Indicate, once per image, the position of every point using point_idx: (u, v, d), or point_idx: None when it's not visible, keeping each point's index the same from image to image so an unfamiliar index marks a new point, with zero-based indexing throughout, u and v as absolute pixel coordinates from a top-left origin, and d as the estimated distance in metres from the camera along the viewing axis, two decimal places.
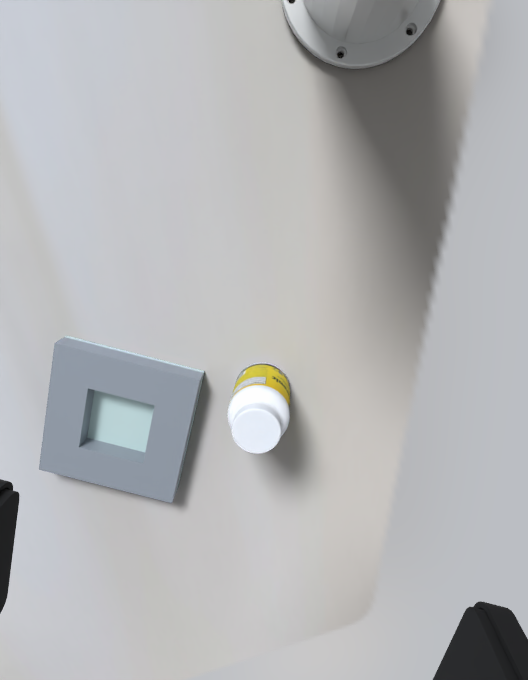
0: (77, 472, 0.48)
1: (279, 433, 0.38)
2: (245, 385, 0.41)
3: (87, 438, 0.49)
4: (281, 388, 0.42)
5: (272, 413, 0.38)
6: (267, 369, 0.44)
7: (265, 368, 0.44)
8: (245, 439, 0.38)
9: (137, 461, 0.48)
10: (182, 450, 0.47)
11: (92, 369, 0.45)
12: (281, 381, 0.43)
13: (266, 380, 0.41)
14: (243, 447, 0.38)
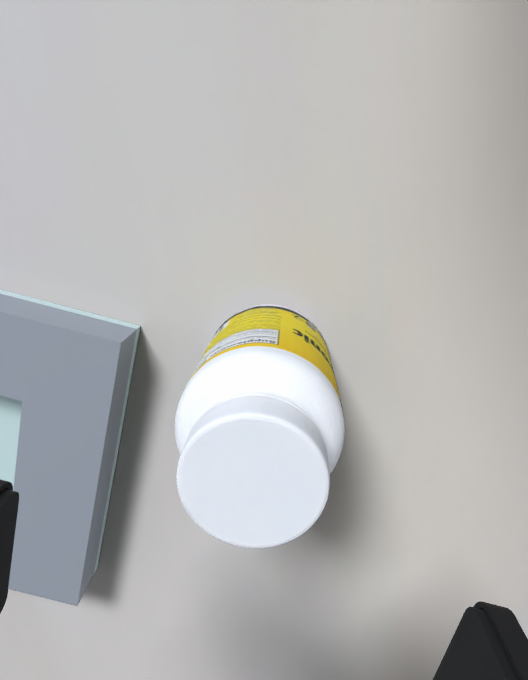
0: None
1: (324, 490, 0.12)
2: (223, 349, 0.15)
3: None
4: (319, 357, 0.16)
5: (303, 427, 0.12)
6: (281, 316, 0.18)
7: (276, 314, 0.19)
8: (219, 507, 0.12)
9: None
10: (91, 500, 0.21)
11: None
12: (315, 343, 0.17)
13: (279, 336, 0.16)
14: (213, 530, 0.13)
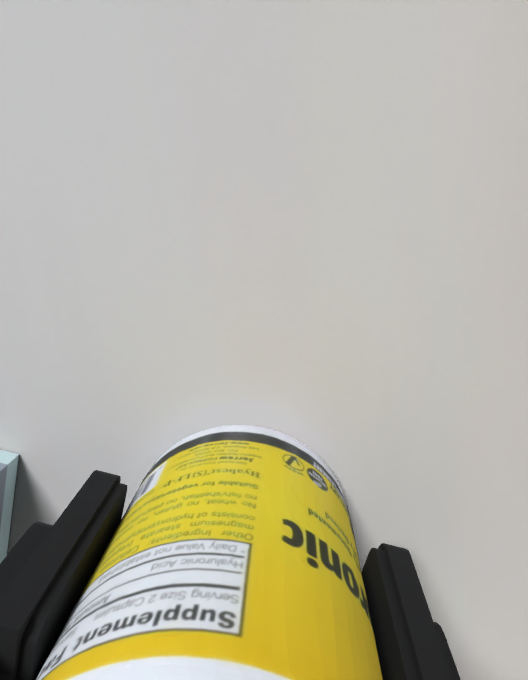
0: None
1: None
2: (105, 630, 0.06)
3: None
4: (343, 612, 0.07)
5: None
6: (260, 473, 0.09)
7: (251, 463, 0.10)
8: None
9: None
10: None
11: None
12: (330, 542, 0.08)
13: (247, 577, 0.07)
14: None
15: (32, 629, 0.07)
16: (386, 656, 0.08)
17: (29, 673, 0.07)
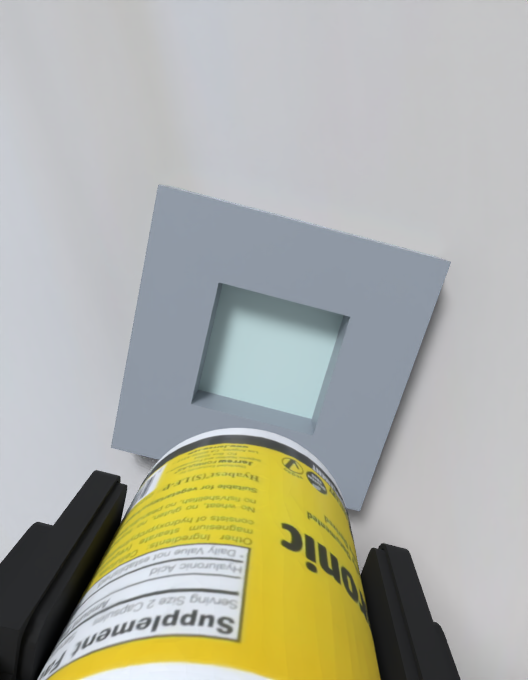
0: None
1: None
2: (104, 635, 0.06)
3: (199, 390, 0.27)
4: (342, 617, 0.07)
5: None
6: (259, 477, 0.09)
7: (250, 467, 0.10)
8: None
9: (301, 431, 0.25)
10: (394, 408, 0.24)
11: (231, 242, 0.22)
12: (329, 546, 0.08)
13: (246, 581, 0.07)
14: None
15: (32, 629, 0.07)
16: (386, 656, 0.08)
17: (29, 673, 0.07)
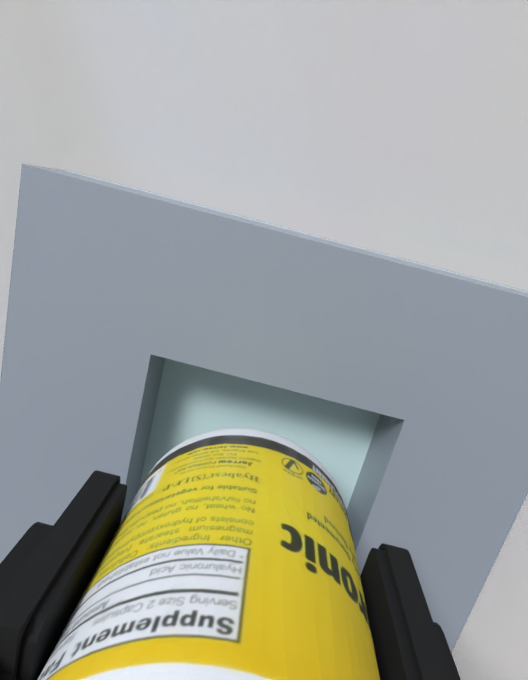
0: None
1: None
2: (104, 635, 0.06)
3: None
4: (341, 618, 0.07)
5: None
6: (259, 477, 0.09)
7: (250, 467, 0.10)
8: None
9: None
10: (480, 580, 0.13)
11: (173, 278, 0.11)
12: (329, 547, 0.08)
13: (246, 582, 0.07)
14: None
15: (32, 629, 0.07)
16: (386, 656, 0.08)
17: (29, 673, 0.07)
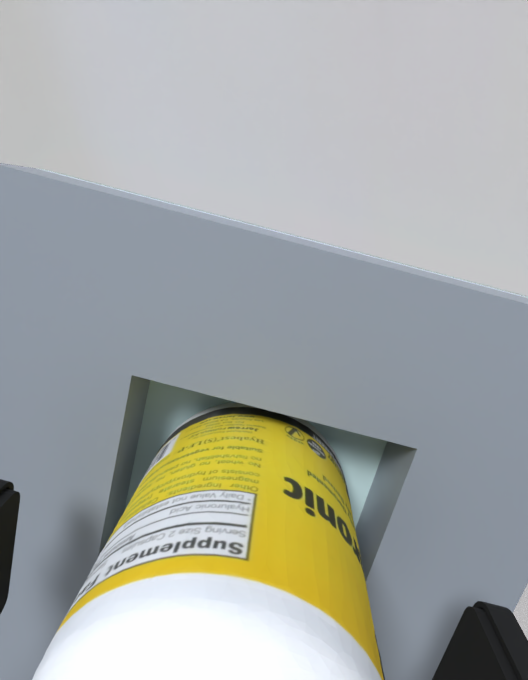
0: None
1: None
2: (133, 557, 0.07)
3: None
4: (336, 552, 0.08)
5: None
6: (264, 441, 0.10)
7: (256, 432, 0.11)
8: None
9: None
10: None
11: (156, 290, 0.10)
12: (326, 499, 0.09)
13: (253, 518, 0.08)
14: None
15: None
16: None
17: None
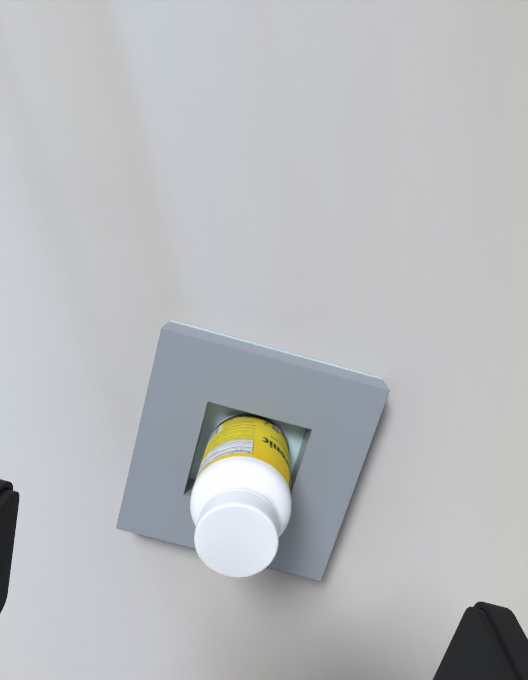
0: (177, 533, 0.31)
1: (275, 545, 0.22)
2: (219, 455, 0.25)
3: (190, 479, 0.32)
4: (278, 457, 0.26)
5: (264, 510, 0.22)
6: (256, 426, 0.29)
7: (253, 422, 0.29)
8: (217, 554, 0.22)
9: None
10: (347, 500, 0.30)
11: (218, 371, 0.28)
12: (277, 445, 0.28)
13: (253, 445, 0.26)
14: (214, 567, 0.22)
15: None
16: None
17: None
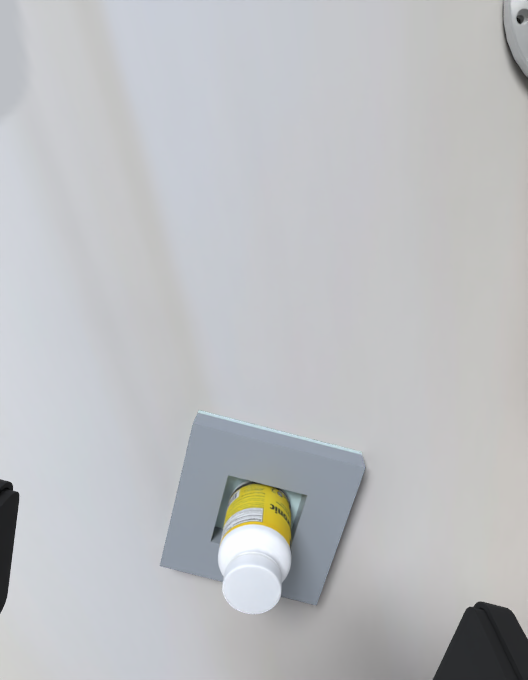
0: (206, 569, 0.41)
1: (279, 592, 0.32)
2: (238, 522, 0.35)
3: (215, 527, 0.42)
4: (281, 521, 0.36)
5: (270, 568, 0.31)
6: (264, 493, 0.38)
7: (262, 490, 0.38)
8: (238, 598, 0.32)
9: None
10: (335, 546, 0.39)
11: (236, 454, 0.38)
12: (281, 509, 0.37)
13: (263, 514, 0.35)
14: (236, 607, 0.32)
15: None
16: None
17: None
